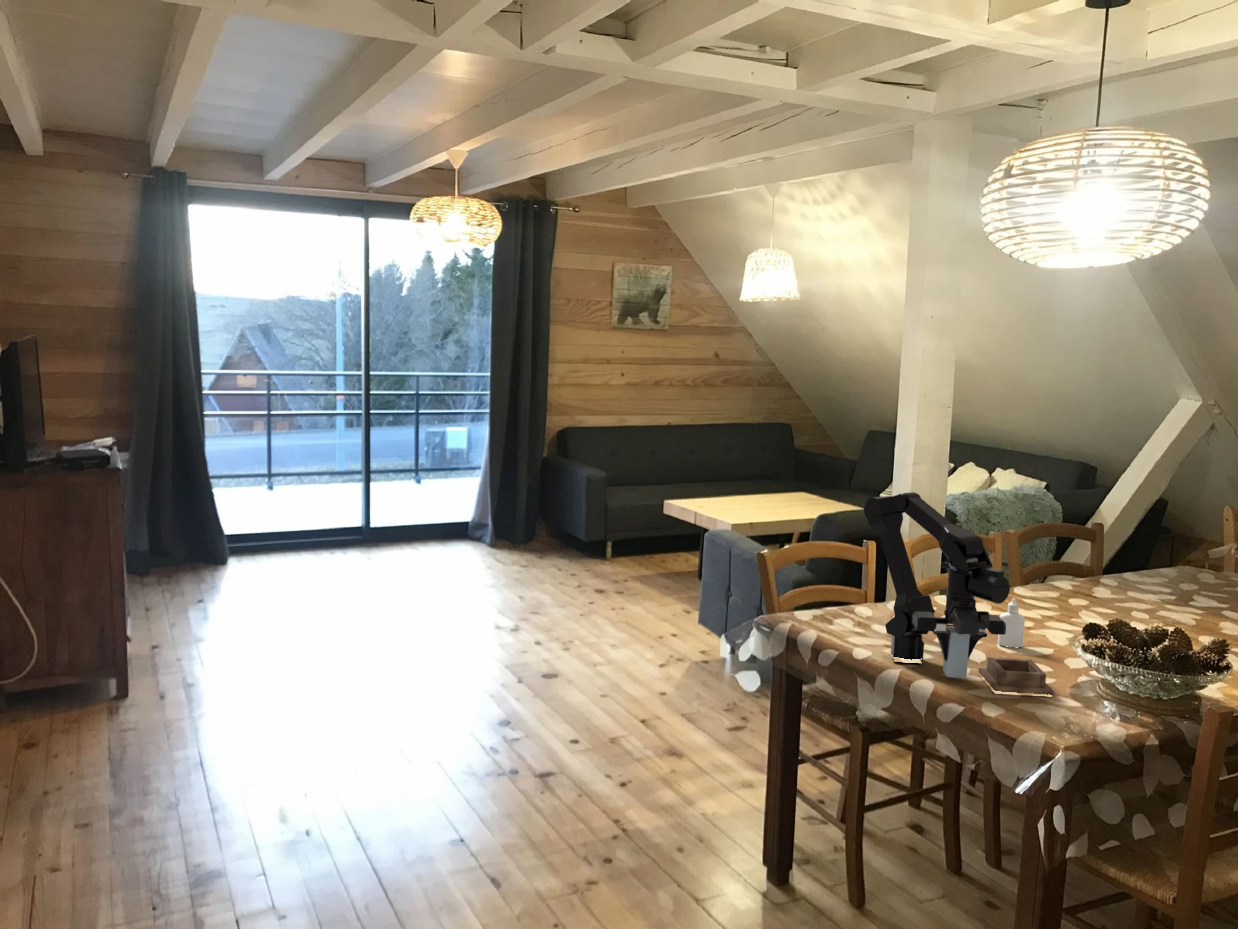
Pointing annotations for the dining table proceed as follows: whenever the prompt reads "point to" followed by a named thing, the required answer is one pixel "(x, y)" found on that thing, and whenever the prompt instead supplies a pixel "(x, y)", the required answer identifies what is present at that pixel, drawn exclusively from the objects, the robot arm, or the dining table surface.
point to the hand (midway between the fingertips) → (955, 660)
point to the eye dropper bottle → (1012, 626)
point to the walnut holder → (1015, 676)
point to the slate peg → (956, 654)
